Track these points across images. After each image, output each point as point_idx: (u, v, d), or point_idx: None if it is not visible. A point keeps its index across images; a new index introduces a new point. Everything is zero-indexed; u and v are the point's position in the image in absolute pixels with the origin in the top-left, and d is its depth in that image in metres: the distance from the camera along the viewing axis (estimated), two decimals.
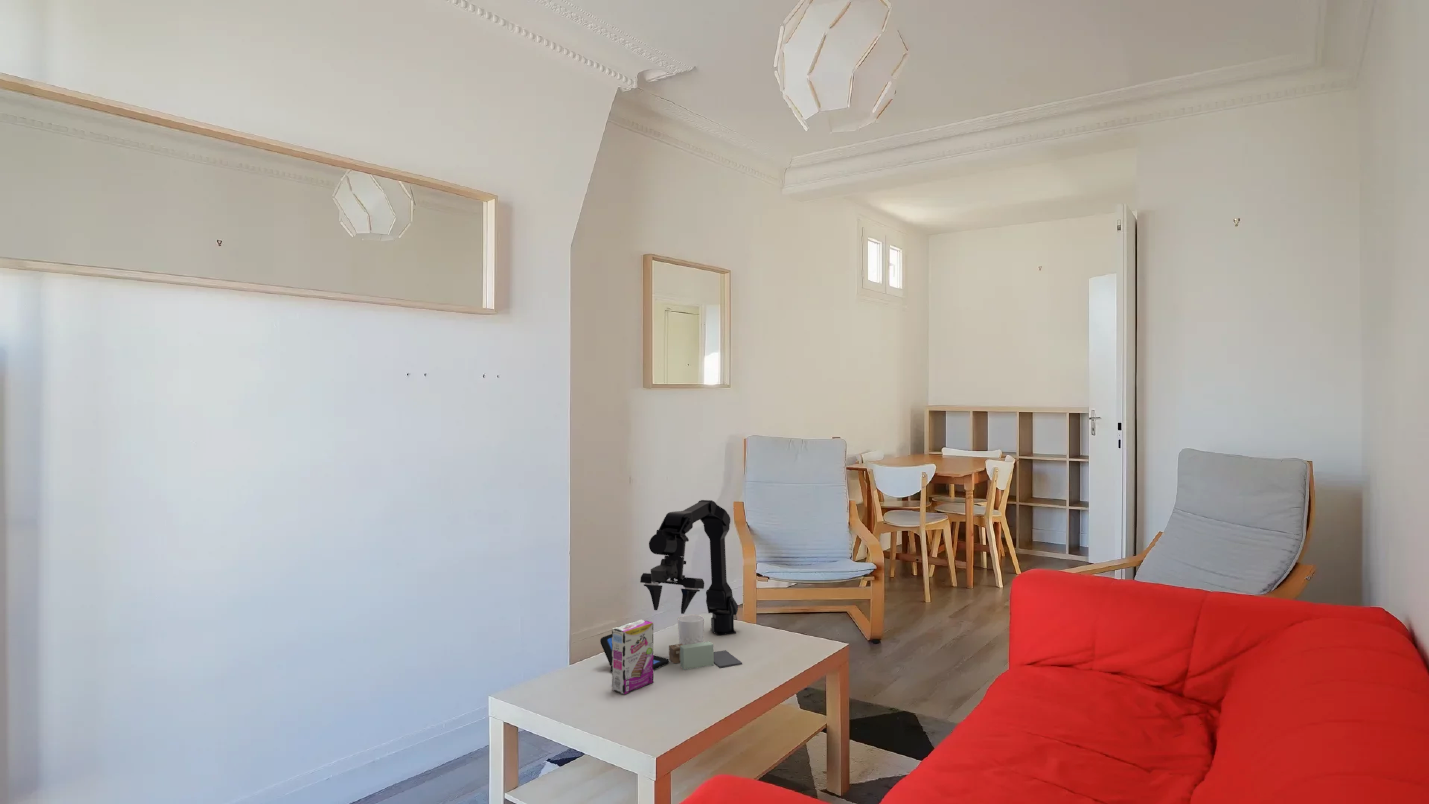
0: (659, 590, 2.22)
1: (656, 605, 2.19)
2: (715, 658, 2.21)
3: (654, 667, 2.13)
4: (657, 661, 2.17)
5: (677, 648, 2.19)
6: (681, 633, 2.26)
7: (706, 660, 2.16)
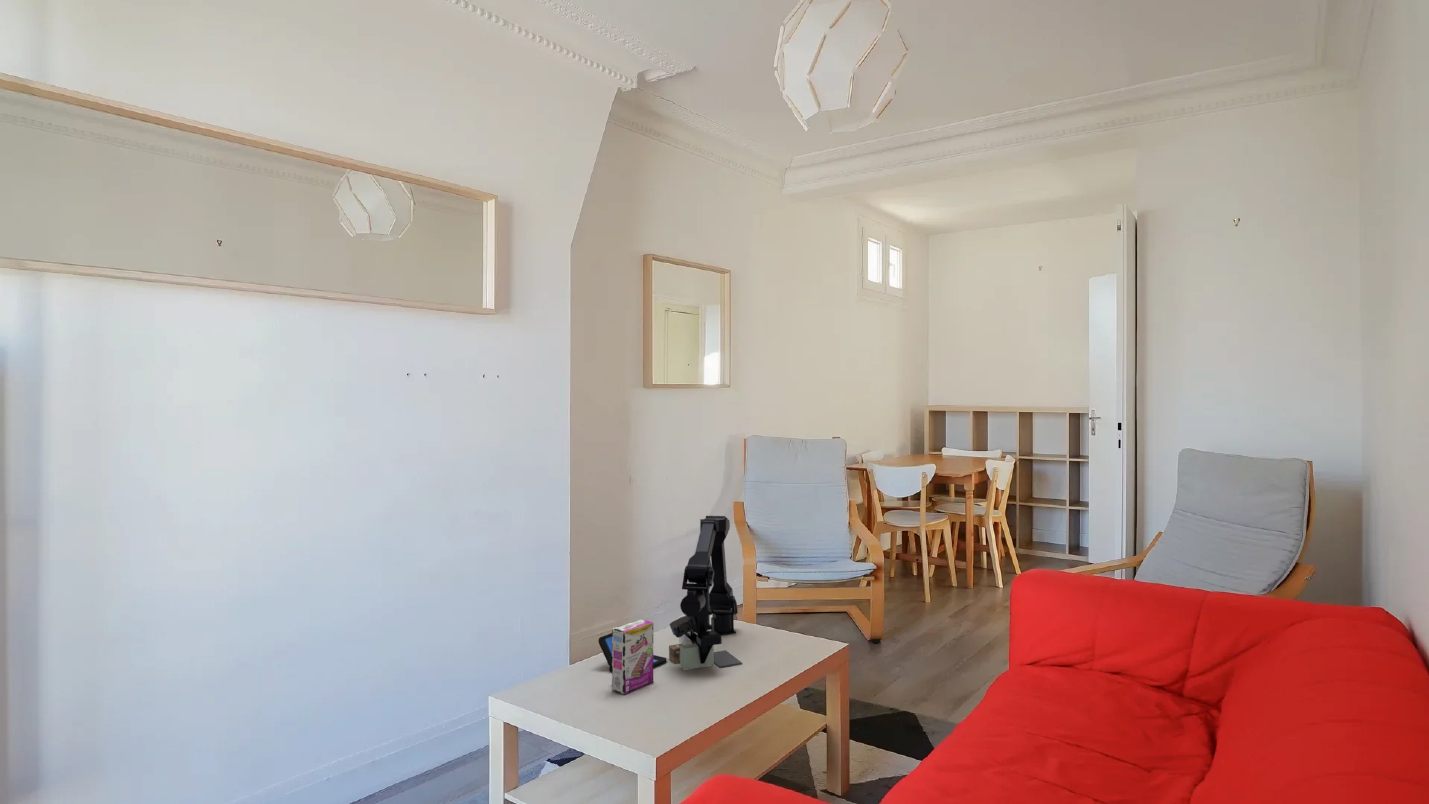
0: None
1: None
2: (715, 658, 2.21)
3: None
4: (655, 660, 2.18)
5: (677, 648, 2.19)
6: None
7: (706, 660, 2.16)
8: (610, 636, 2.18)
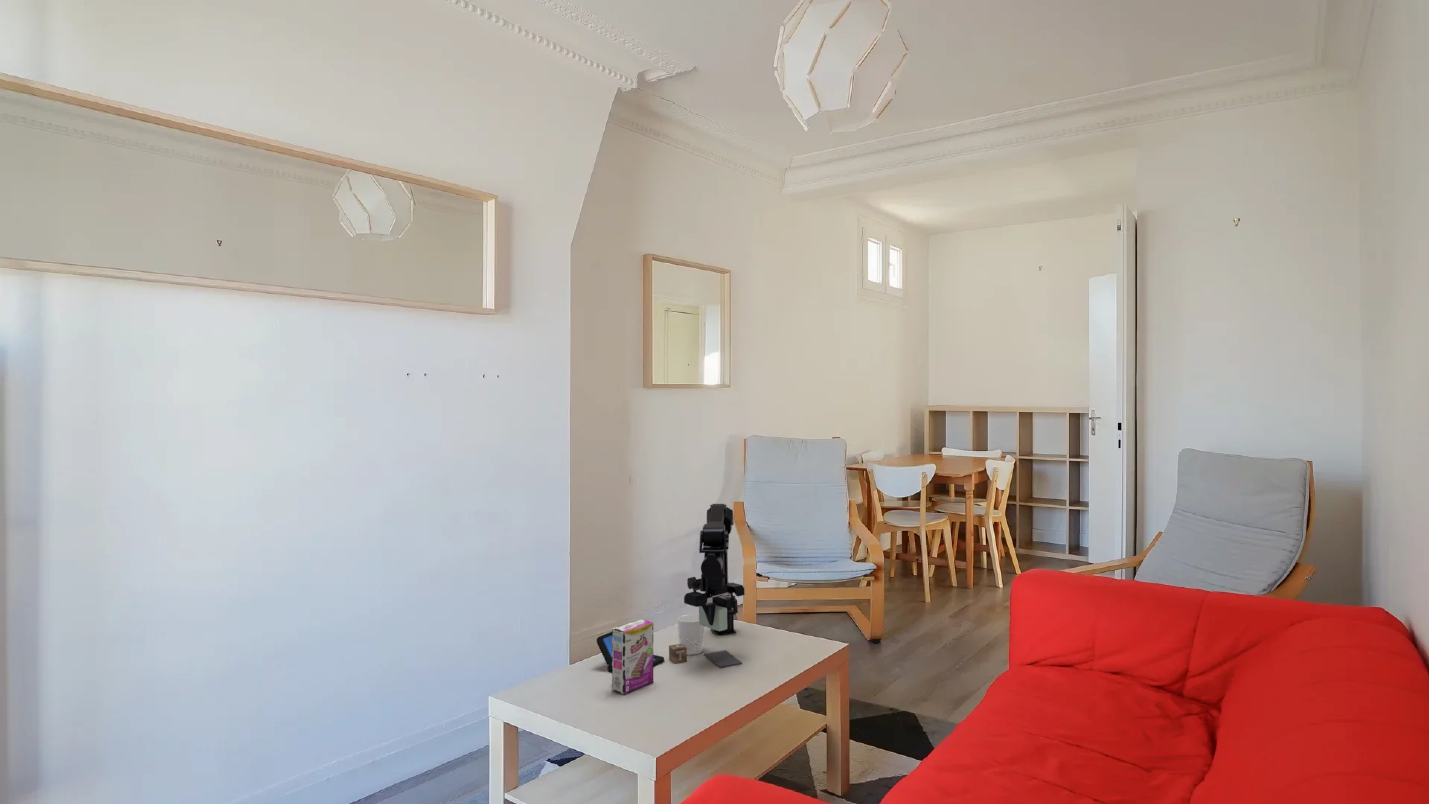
0: (723, 604, 2.20)
1: None
2: (715, 658, 2.21)
3: None
4: (653, 659, 2.18)
5: (677, 648, 2.19)
6: (681, 633, 2.26)
7: (714, 623, 2.18)
8: (608, 636, 2.19)
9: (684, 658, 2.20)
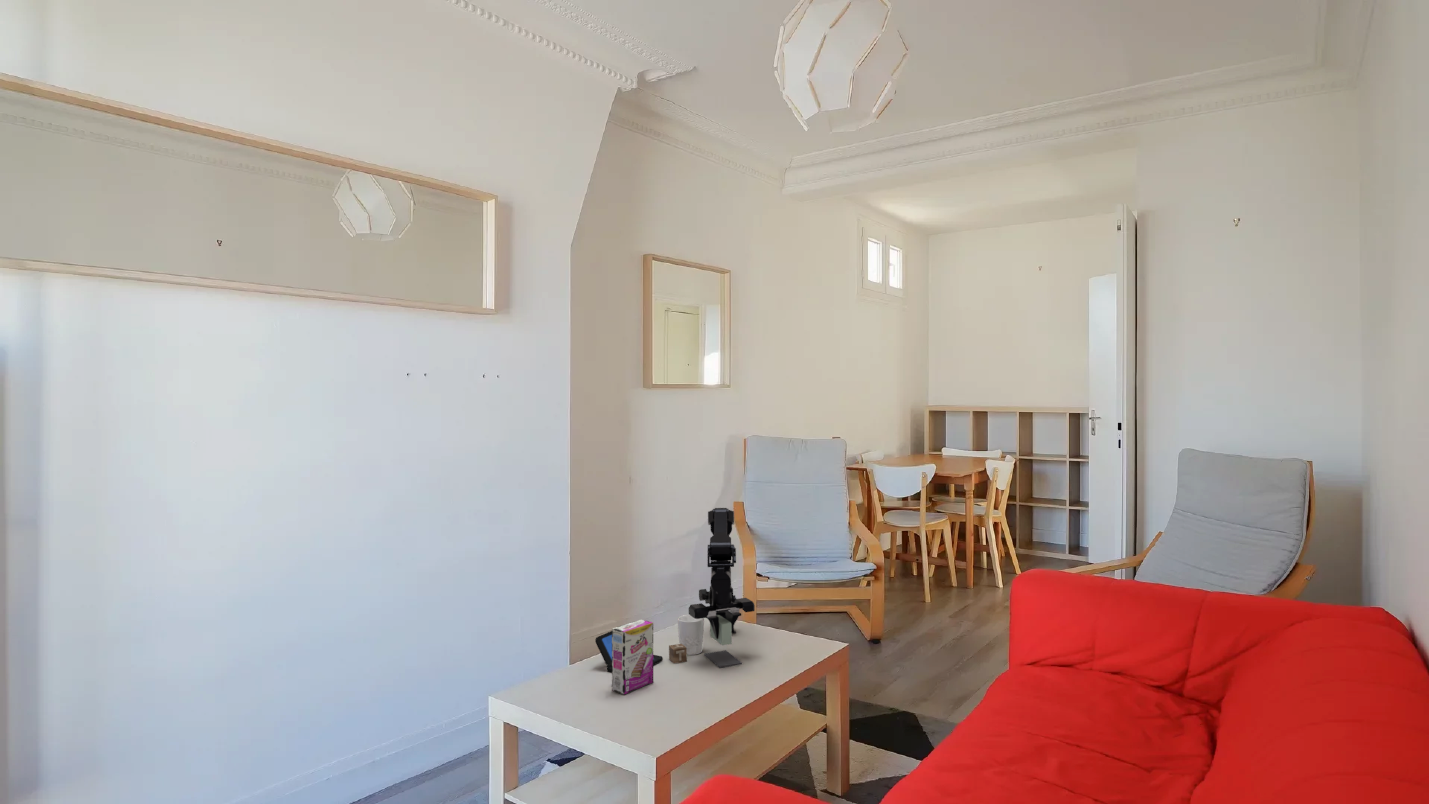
0: (730, 618, 2.20)
1: None
2: (715, 658, 2.21)
3: None
4: None
5: (677, 648, 2.19)
6: (681, 633, 2.26)
7: (719, 636, 2.19)
8: (606, 636, 2.19)
9: (684, 658, 2.20)
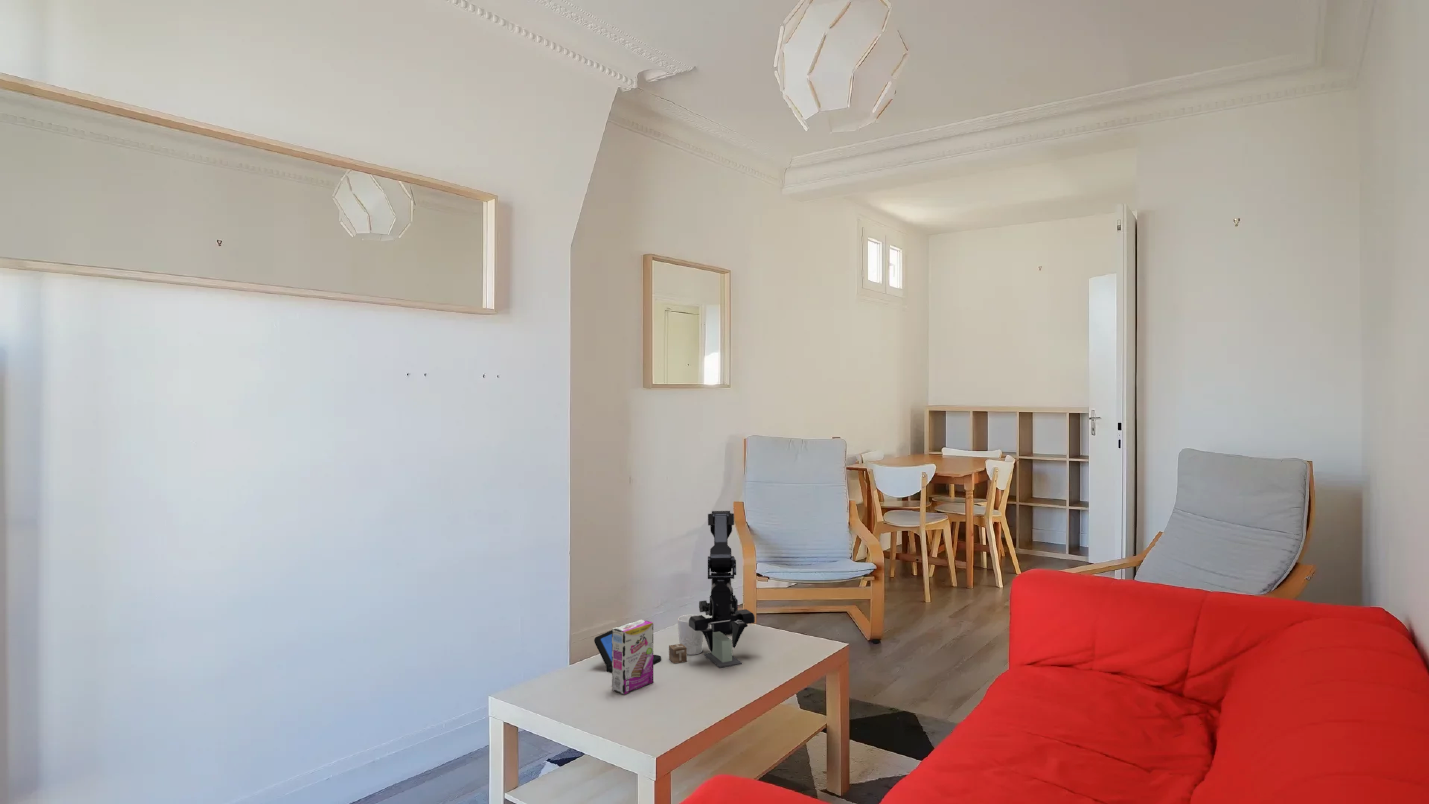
0: (736, 629, 2.21)
1: (732, 642, 2.22)
2: (715, 658, 2.21)
3: None
4: None
5: (677, 648, 2.19)
6: (681, 633, 2.26)
7: (719, 653, 2.19)
8: (605, 636, 2.19)
9: (684, 658, 2.20)
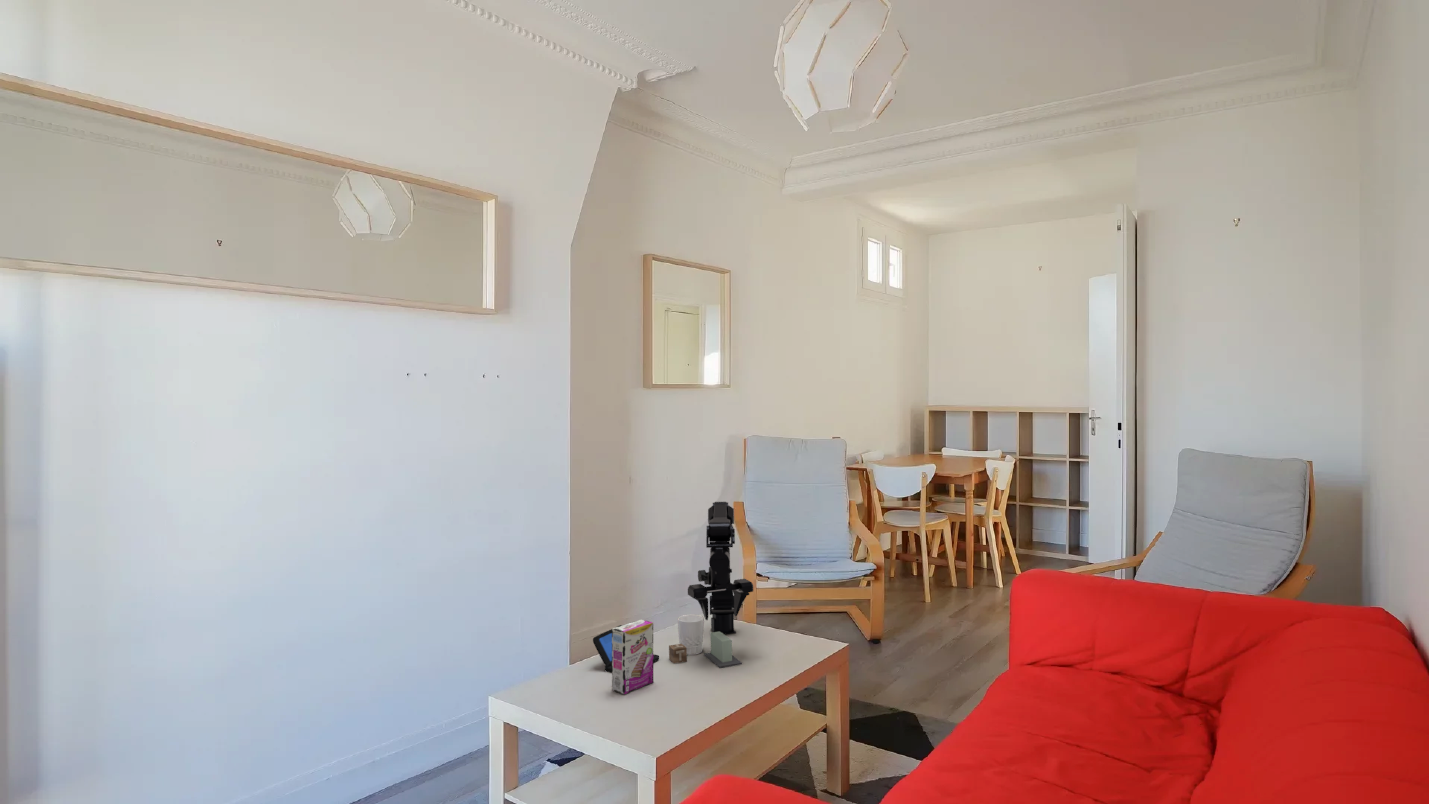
0: (738, 598, 2.23)
1: (734, 611, 2.24)
2: (715, 658, 2.21)
3: None
4: None
5: (677, 648, 2.19)
6: (681, 633, 2.26)
7: (719, 653, 2.19)
8: (603, 636, 2.19)
9: (684, 658, 2.20)
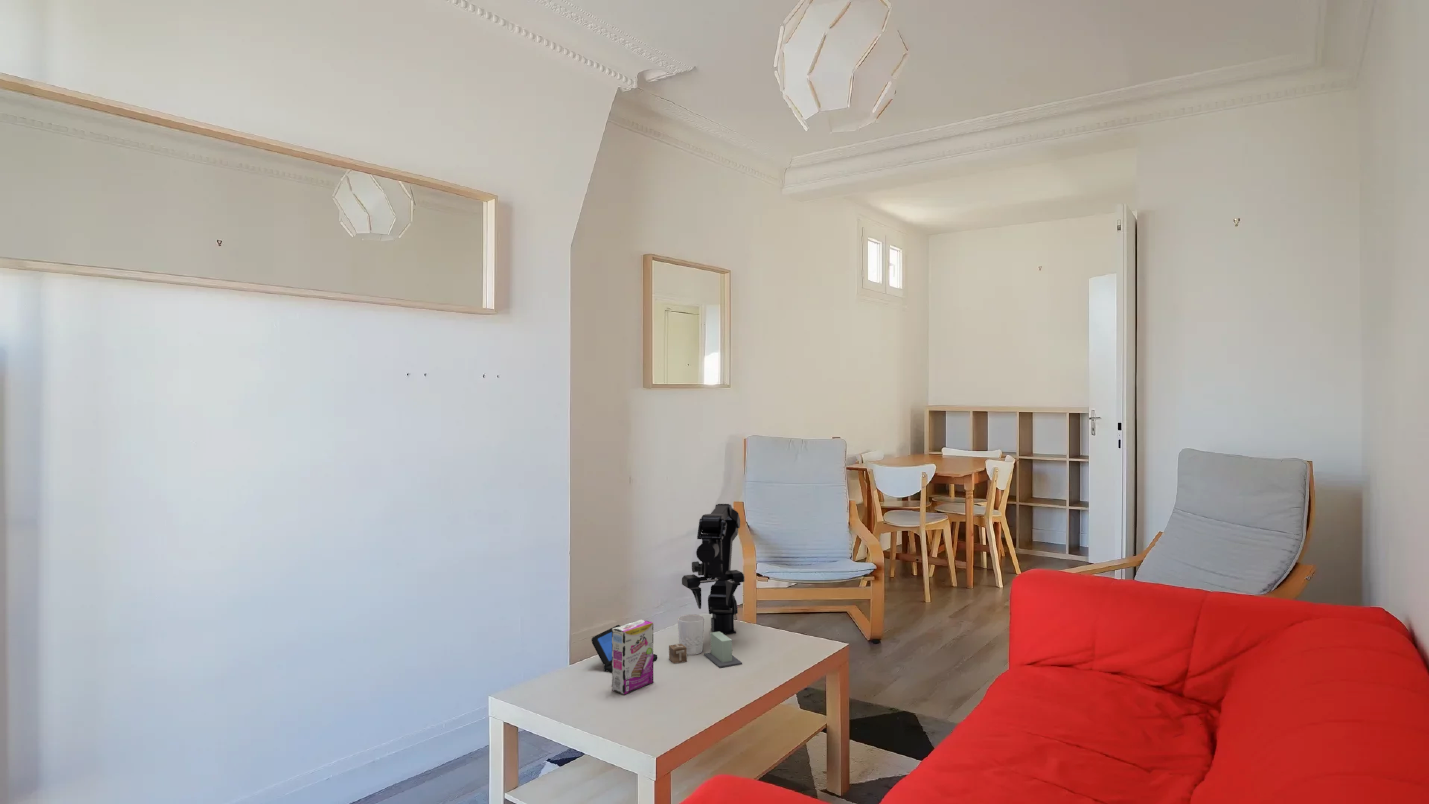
0: (730, 588, 2.34)
1: (726, 600, 2.35)
2: (715, 658, 2.21)
3: None
4: None
5: (677, 648, 2.19)
6: (681, 633, 2.26)
7: (719, 653, 2.19)
8: (601, 635, 2.19)
9: (684, 658, 2.20)
